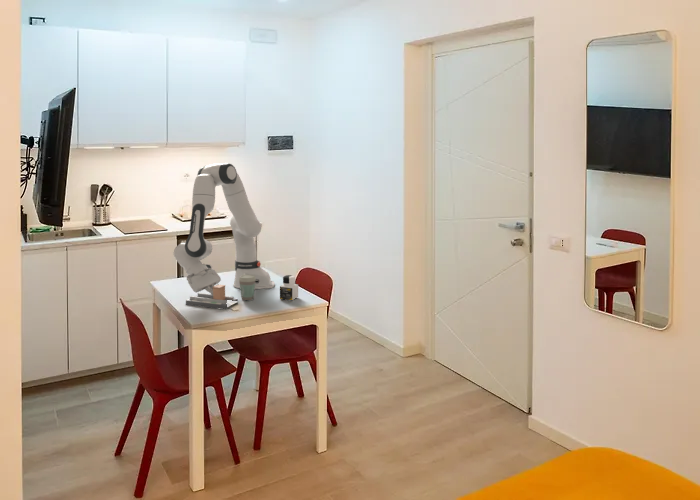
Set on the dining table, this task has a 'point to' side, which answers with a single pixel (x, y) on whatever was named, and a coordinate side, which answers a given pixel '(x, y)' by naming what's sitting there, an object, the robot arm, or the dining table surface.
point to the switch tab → (219, 292)
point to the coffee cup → (247, 286)
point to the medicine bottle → (288, 288)
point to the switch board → (209, 301)
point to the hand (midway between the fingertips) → (214, 293)
